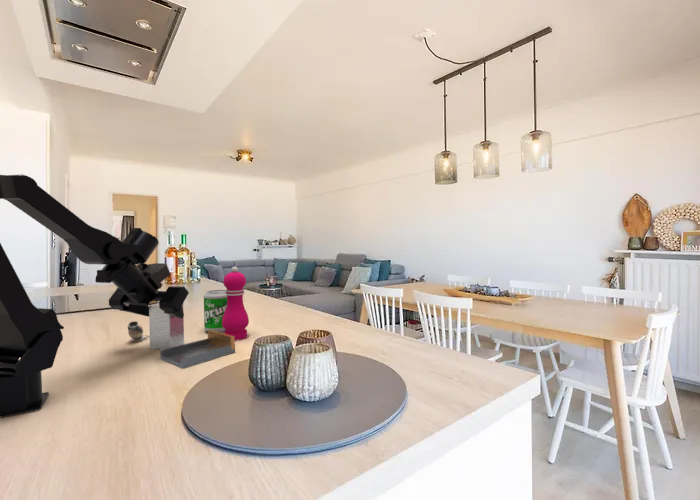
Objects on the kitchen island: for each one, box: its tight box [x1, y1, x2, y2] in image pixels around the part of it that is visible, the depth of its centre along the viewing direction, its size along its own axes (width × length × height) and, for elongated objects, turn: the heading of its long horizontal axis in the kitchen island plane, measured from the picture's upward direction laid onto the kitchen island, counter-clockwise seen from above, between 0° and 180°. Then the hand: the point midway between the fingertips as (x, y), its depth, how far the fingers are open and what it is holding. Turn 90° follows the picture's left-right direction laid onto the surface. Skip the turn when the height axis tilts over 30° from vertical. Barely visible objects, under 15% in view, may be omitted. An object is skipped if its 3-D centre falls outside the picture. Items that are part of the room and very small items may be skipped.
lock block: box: [148, 302, 185, 350], centre depth 90 cm, size 5×6×11 cm
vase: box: [127, 321, 150, 342], centre depth 94 cm, size 5×5×6 cm
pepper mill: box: [222, 266, 250, 341], centre depth 97 cm, size 7×7×20 cm
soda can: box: [203, 289, 227, 333], centre depth 105 cm, size 8×8×12 cm
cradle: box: [159, 330, 236, 369], centre depth 83 cm, size 13×10×4 cm
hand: (167, 316), depth 90 cm, fingers open, 9 cm apart
